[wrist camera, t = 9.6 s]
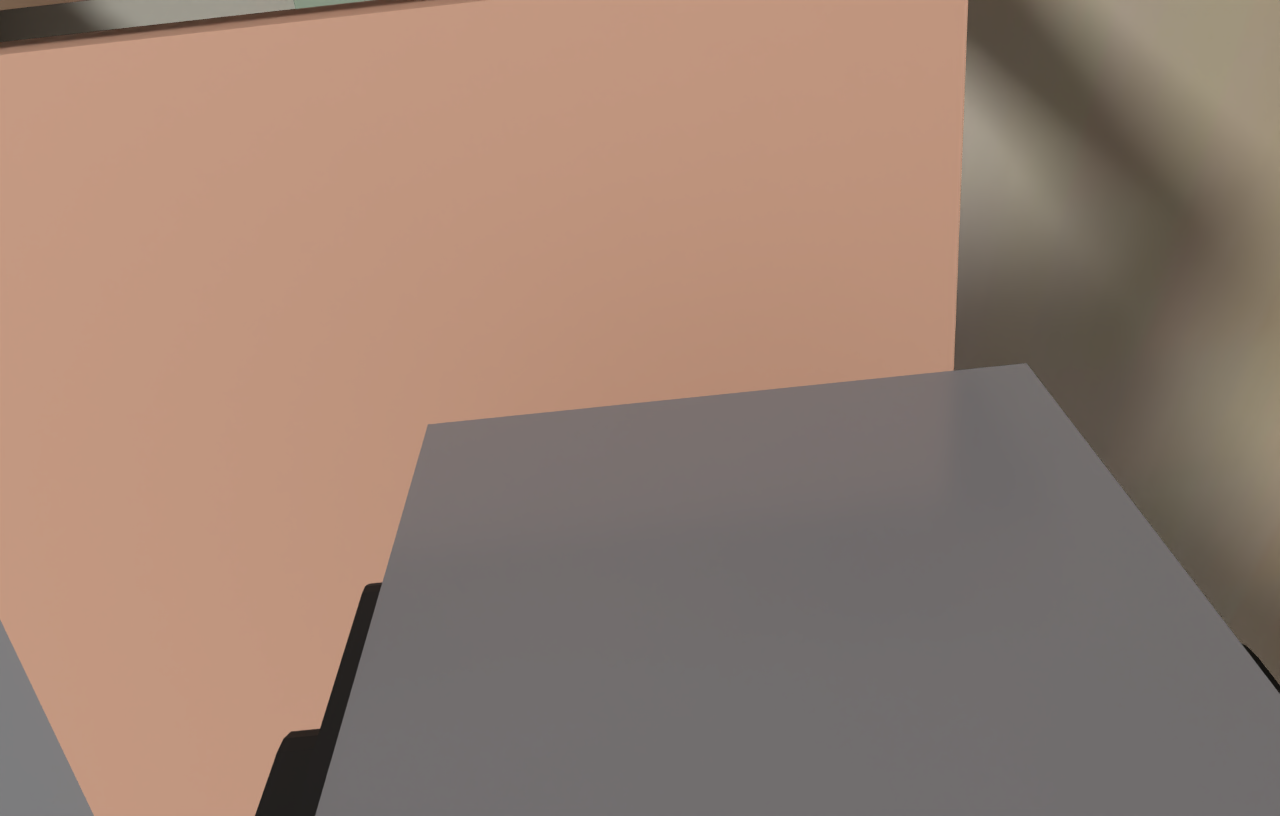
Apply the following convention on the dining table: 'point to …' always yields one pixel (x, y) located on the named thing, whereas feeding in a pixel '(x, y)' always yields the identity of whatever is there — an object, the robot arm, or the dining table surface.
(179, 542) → the trapdoor
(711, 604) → the grey block
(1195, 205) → the dining table surface
